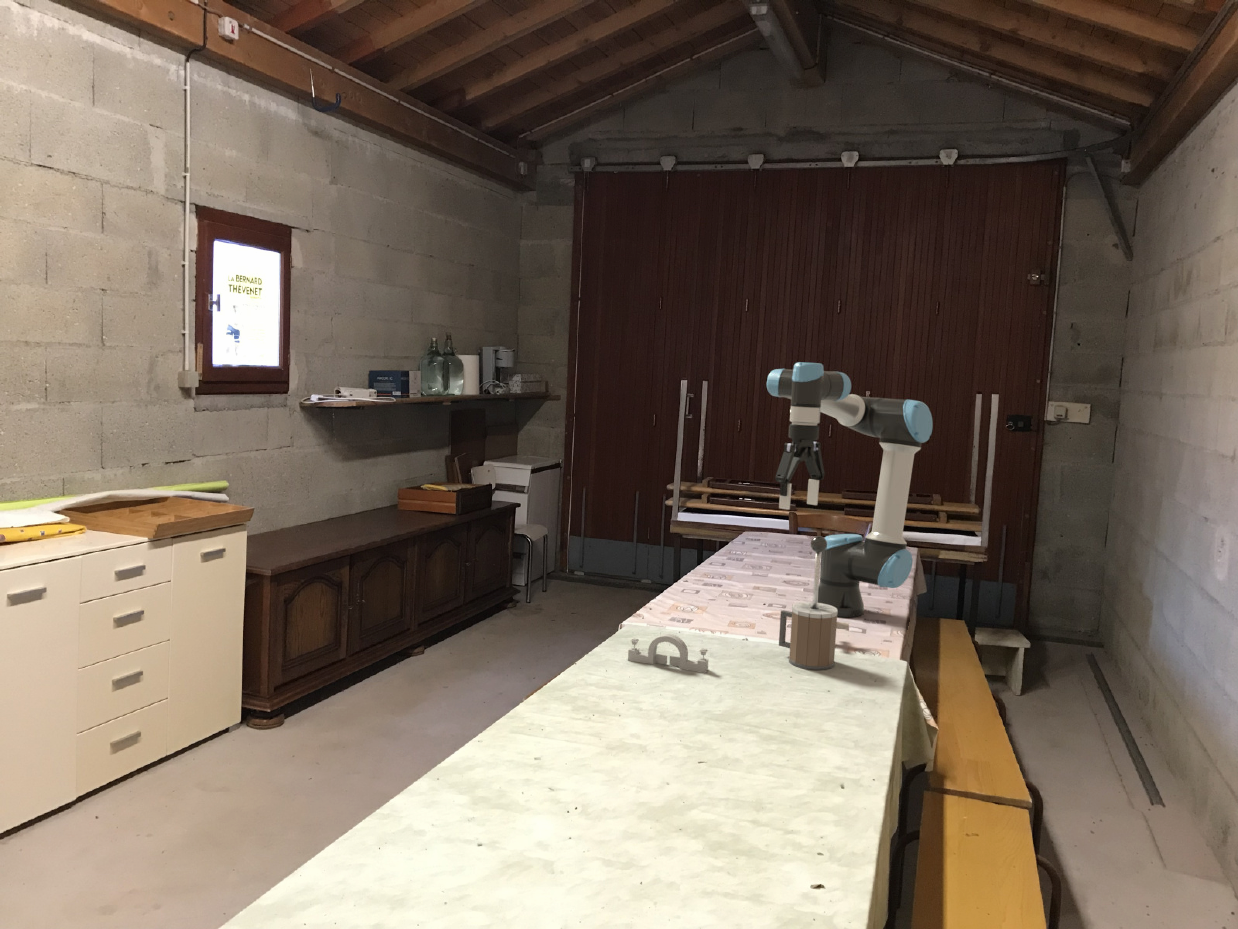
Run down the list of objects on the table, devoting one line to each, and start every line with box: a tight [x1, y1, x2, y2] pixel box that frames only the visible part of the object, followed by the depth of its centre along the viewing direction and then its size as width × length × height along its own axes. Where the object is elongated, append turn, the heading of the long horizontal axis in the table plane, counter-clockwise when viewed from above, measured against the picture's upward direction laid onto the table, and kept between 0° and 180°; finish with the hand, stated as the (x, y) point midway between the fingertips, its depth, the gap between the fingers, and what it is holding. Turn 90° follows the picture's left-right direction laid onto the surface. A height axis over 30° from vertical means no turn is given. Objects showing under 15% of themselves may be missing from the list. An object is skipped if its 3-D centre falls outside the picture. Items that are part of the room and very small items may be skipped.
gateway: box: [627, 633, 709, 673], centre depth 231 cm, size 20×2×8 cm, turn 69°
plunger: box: [810, 535, 827, 610], centre depth 235 cm, size 8×8×22 cm
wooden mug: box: [778, 601, 838, 671], centre depth 237 cm, size 11×14×14 cm
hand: (798, 506), depth 244 cm, fingers open, 13 cm apart
